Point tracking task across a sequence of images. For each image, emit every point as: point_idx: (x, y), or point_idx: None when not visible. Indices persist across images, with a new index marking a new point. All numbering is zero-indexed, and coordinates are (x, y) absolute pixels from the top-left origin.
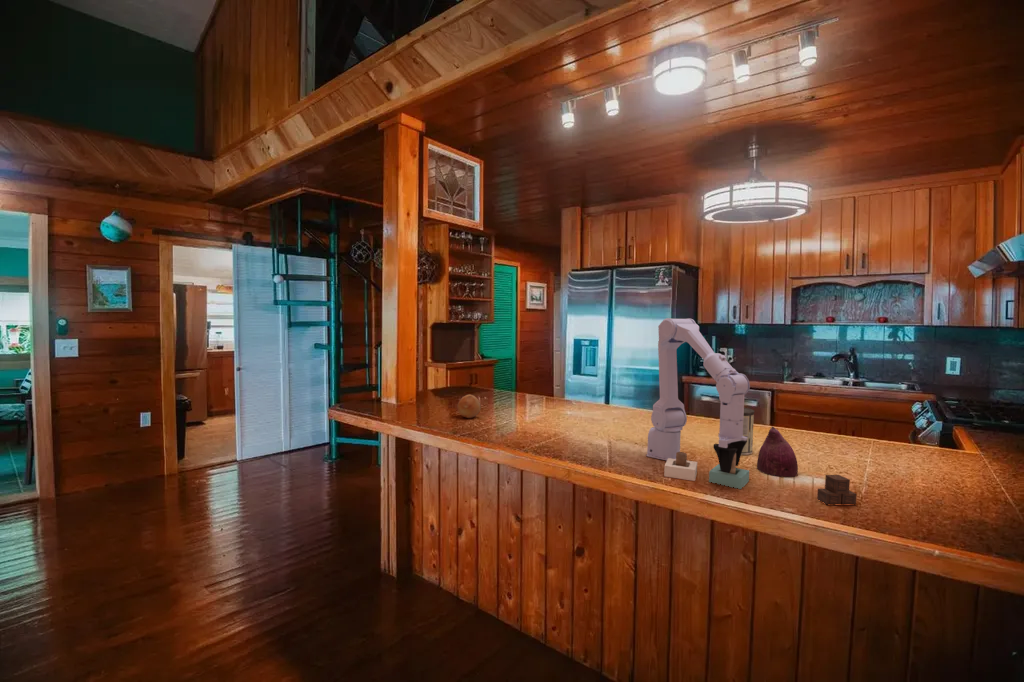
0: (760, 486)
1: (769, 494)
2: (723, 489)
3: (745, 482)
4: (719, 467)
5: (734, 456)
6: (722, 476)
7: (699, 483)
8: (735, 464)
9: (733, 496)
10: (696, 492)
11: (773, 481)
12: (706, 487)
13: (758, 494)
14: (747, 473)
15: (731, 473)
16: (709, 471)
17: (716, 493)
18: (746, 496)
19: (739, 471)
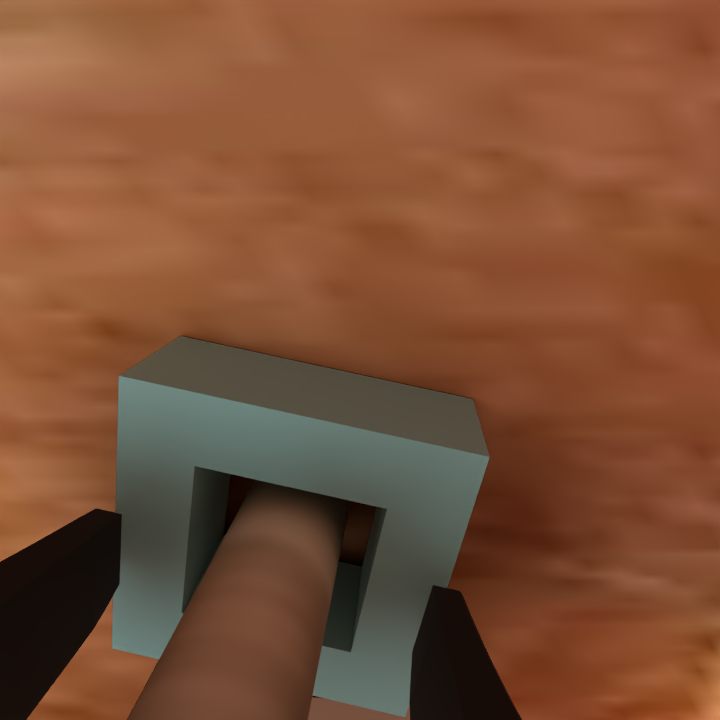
0: (270, 226)
1: (492, 129)
2: (544, 527)
3: (304, 372)
4: None
5: (259, 717)
6: None
7: None
8: (262, 582)
9: (709, 453)
10: (715, 692)
11: (7, 94)
12: (555, 635)
13: (546, 241)
14: (209, 387)
15: (331, 539)
16: (405, 712)
17: (680, 572)
18: (662, 349)
19: (237, 474)
